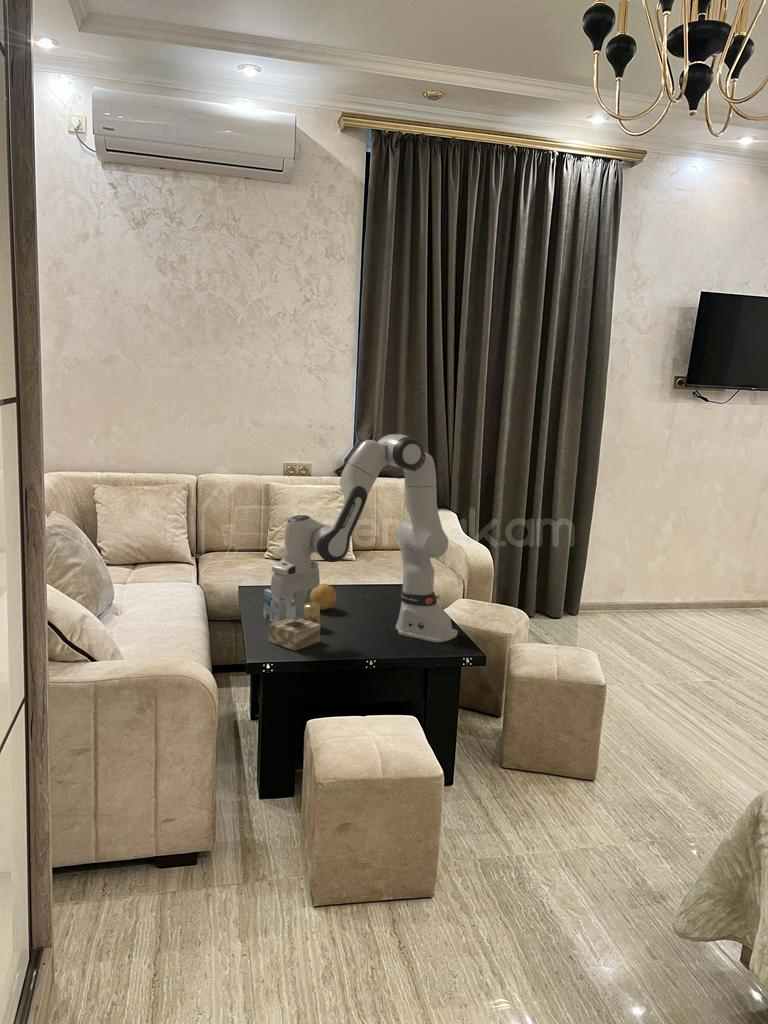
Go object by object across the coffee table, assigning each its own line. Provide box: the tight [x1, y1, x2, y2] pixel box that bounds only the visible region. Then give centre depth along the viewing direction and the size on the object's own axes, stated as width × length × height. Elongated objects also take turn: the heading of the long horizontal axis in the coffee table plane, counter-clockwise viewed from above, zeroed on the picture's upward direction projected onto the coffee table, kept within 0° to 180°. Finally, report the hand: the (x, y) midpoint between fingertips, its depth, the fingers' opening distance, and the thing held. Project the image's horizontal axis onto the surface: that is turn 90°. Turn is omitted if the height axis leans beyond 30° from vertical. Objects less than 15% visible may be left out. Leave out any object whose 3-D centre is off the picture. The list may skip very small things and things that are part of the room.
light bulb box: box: [263, 588, 287, 624], centre depth 273 cm, size 11×7×11 cm, turn 40°
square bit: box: [286, 589, 305, 621], centre depth 252 cm, size 4×4×10 cm
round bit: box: [302, 602, 321, 624], centre depth 269 cm, size 6×6×8 cm
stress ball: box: [309, 583, 337, 611], centre depth 289 cm, size 10×10×10 cm
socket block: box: [268, 618, 321, 651], centre depth 253 cm, size 12×12×6 cm
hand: (295, 604), depth 252 cm, fingers closed on square bit, 4 cm apart
